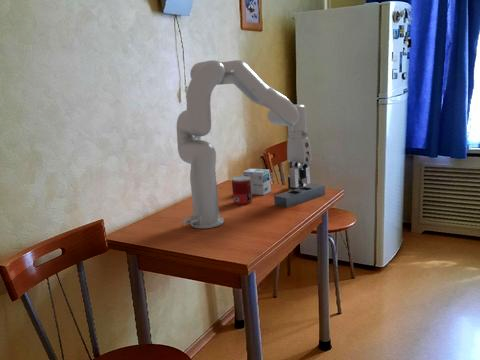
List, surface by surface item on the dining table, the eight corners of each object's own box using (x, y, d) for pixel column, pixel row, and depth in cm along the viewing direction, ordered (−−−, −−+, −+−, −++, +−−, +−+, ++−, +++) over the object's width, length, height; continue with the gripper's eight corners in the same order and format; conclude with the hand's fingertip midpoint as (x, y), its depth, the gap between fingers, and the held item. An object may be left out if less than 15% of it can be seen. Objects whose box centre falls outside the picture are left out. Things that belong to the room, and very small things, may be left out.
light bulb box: (271, 191, 203) (269, 169, 201) (264, 195, 198) (262, 172, 195) (251, 190, 209) (249, 168, 207) (244, 193, 204) (242, 171, 201)
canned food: (252, 204, 185) (250, 179, 183) (233, 206, 185) (231, 180, 183) (252, 199, 193) (250, 175, 190) (233, 200, 193) (231, 176, 190)
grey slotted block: (286, 207, 177) (286, 198, 176) (274, 204, 182) (274, 195, 182) (325, 194, 192) (324, 185, 191) (312, 192, 197) (312, 183, 196)
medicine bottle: (288, 191, 202) (287, 165, 199) (291, 187, 209) (289, 162, 206) (303, 191, 200) (302, 165, 197) (306, 187, 207) (305, 162, 204)
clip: (304, 182, 190) (303, 164, 188) (310, 183, 187) (309, 164, 185) (290, 186, 184) (289, 168, 182) (295, 187, 182) (294, 169, 180)
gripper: (318, 134, 177) (320, 178, 181) (289, 132, 189) (292, 173, 194) (306, 137, 172) (308, 182, 177) (277, 135, 185) (280, 177, 189)
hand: (299, 177), depth 185 cm, fingers closed on clip, 3 cm apart
